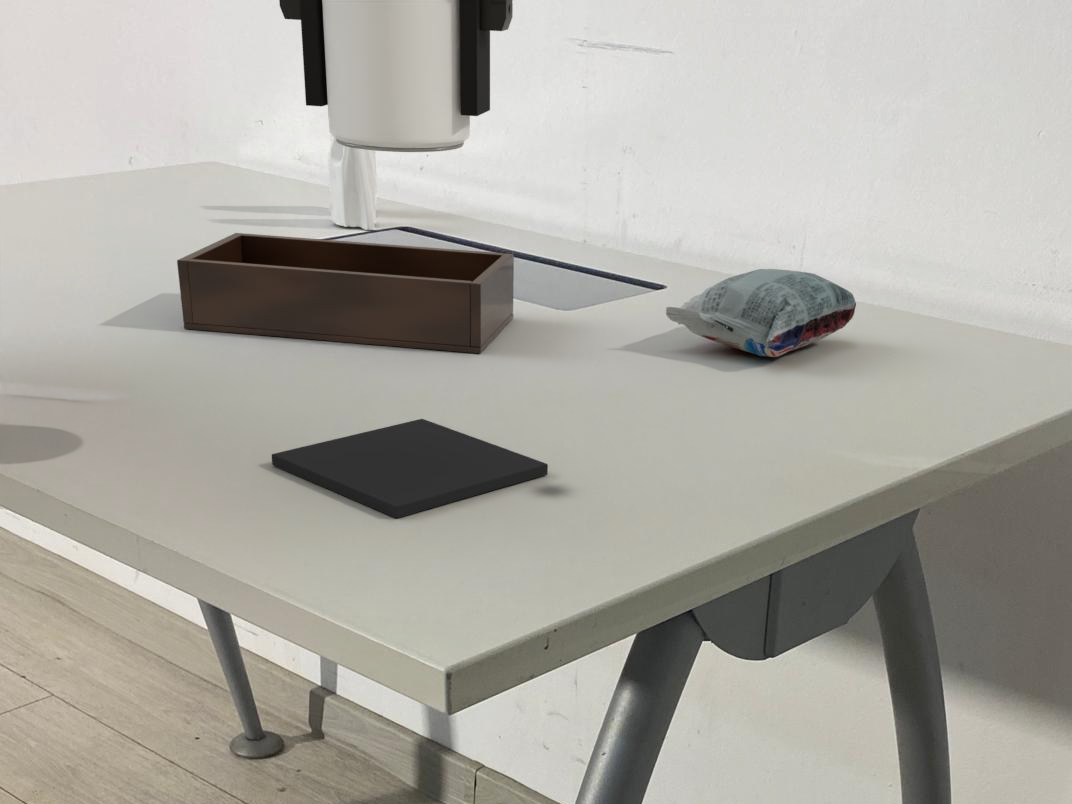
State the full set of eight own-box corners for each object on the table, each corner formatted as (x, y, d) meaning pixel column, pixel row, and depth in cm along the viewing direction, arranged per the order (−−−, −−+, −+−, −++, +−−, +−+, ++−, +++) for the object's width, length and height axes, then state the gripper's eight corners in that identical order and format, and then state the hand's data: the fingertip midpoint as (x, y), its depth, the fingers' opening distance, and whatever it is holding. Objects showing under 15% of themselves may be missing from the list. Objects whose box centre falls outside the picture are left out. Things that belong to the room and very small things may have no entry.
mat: (396, 519, 67) (395, 506, 67) (271, 465, 73) (270, 453, 73) (548, 475, 74) (548, 463, 73) (422, 428, 79) (422, 418, 79)
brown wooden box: (183, 328, 96) (176, 260, 94) (240, 296, 105) (235, 232, 102) (480, 353, 94) (480, 284, 91) (513, 318, 102) (514, 253, 100)
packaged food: (663, 349, 96) (668, 273, 94) (752, 320, 105) (760, 250, 102) (774, 375, 92) (784, 297, 90) (858, 343, 101) (869, 270, 98)
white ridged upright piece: (335, 206, 138) (328, 79, 133) (379, 207, 139) (374, 81, 133) (329, 229, 128) (322, 92, 122) (376, 230, 129) (371, 94, 123)
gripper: (648, -541, 56) (619, 112, 68) (171, -547, 58) (226, 88, 70) (621, -603, 49) (595, 130, 61) (87, -607, 51) (163, 103, 63)
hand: (399, 106), depth 65 cm, fingers closed on can, 6 cm apart
